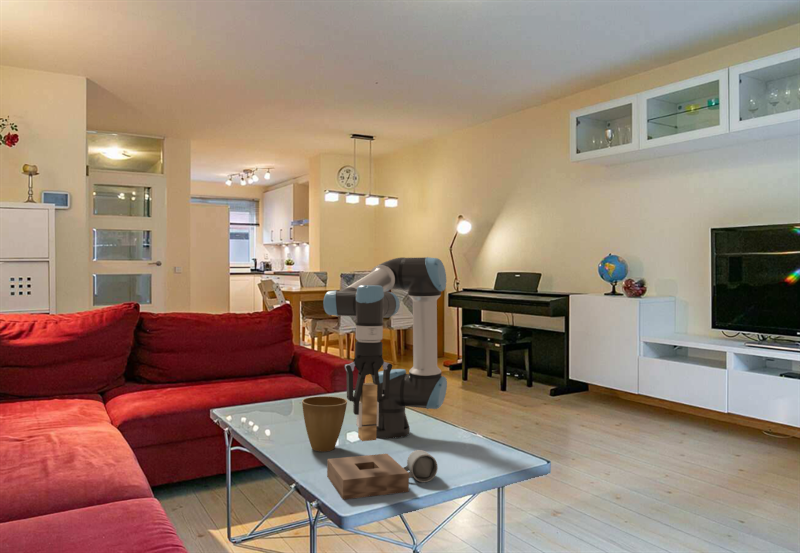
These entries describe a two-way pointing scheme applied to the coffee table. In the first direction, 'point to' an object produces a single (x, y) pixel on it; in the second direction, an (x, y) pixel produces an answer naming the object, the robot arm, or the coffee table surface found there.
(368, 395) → the oak peg
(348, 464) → the walnut socket block
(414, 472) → the ceramic mug
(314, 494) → the coffee table surface
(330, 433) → the plant pot
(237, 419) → the coffee table surface
